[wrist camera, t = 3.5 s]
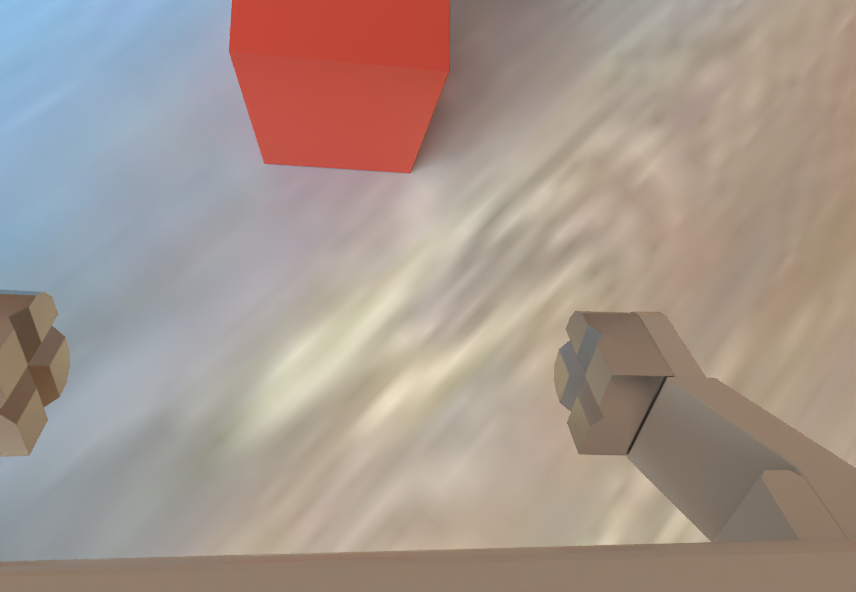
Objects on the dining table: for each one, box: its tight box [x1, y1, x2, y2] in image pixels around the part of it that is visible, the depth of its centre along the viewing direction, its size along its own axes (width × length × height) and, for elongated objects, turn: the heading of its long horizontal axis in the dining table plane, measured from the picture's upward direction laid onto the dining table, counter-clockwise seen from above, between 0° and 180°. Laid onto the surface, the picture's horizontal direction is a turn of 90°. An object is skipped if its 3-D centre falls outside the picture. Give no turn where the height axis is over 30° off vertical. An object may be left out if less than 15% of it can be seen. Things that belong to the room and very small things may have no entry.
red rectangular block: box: [229, 0, 450, 173], centre depth 20 cm, size 6×6×8 cm
